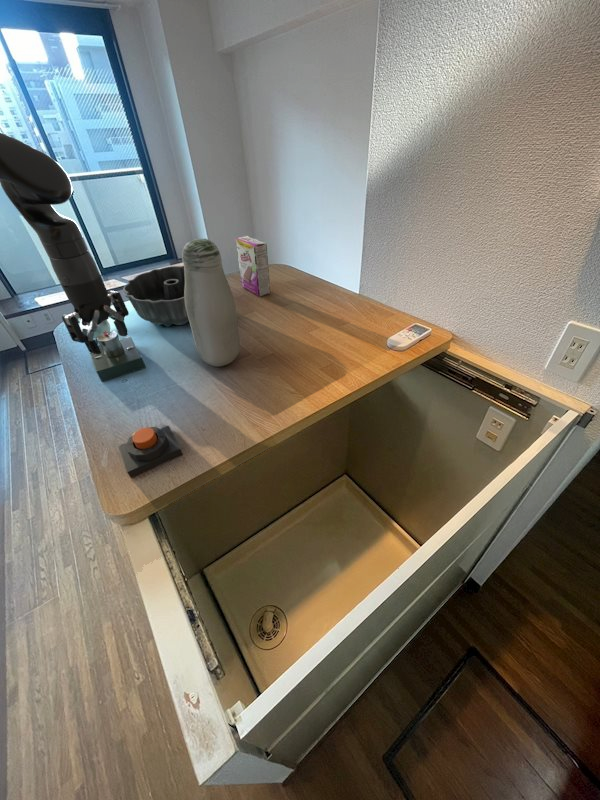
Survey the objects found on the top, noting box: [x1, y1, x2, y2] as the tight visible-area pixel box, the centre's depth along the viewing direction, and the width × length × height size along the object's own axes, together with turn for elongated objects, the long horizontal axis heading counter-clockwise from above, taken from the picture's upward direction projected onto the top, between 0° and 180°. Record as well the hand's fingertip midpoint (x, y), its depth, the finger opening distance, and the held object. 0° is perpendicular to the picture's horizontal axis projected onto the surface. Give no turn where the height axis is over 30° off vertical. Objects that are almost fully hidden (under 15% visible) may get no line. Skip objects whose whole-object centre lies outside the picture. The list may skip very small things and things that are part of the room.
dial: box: [96, 331, 124, 358], centre depth 77 cm, size 4×4×5 cm
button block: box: [118, 425, 183, 479], centre depth 58 cm, size 9×7×4 cm
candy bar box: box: [235, 235, 271, 298], centre depth 108 cm, size 11×5×16 cm, turn 40°
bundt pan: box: [122, 265, 189, 327], centre depth 98 cm, size 26×26×10 cm
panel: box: [89, 336, 147, 383], centre depth 80 cm, size 12×10×3 cm
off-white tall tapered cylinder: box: [181, 238, 241, 368], centre depth 72 cm, size 10×10×28 cm
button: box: [132, 427, 157, 449], centre depth 56 cm, size 4×4×2 cm
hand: (110, 344), depth 78 cm, fingers open, 8 cm apart
